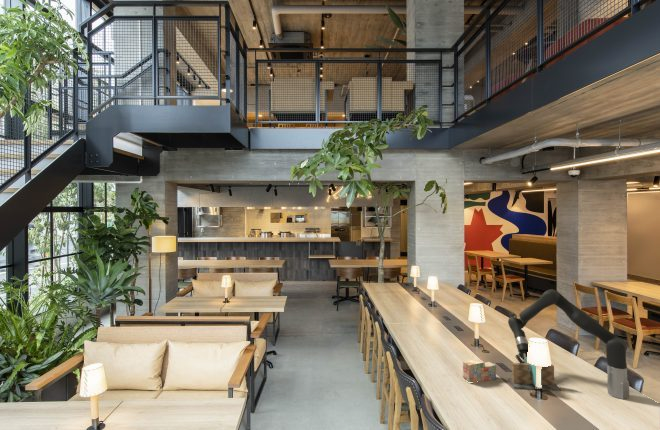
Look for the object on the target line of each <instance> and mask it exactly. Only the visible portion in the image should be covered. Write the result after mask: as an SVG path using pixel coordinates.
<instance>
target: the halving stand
mask: <svg viewBox="0 0 660 430" xmlns="http://www.w3.org/2000/svg"><path fill="white" fill-rule="evenodd" d="M511 368H512V369H511V372H512V373H511V375H512V376H511V377H512V378H506V379H507V382H508V383H509V384H510V385H511V387H512V388H513V390H514V389H515V390H517V389H518V390H534V389H535V385H534V384H533V383H532V373H530V365H529V364H528V363H520V362H511ZM541 391H554V392H555V391H557V392H560V391H561V388H560V387H559V386H558V385H557V384H556V383H555V365H553V364H551V366H548V367H542V390H541Z"/></svg>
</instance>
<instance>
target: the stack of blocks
mask: <svg viewBox="0 0 660 430" xmlns="http://www.w3.org/2000/svg"><path fill="white" fill-rule="evenodd" d="M462 375H463V376H462V378H464V379H465V380H467V381H468V382H477V381H482V382H486V381H485V380H487V381H492V380H496V379H497V365H496V364H495V363H492V362H491V361H487V362H486V361H483V360H481V359H479V358H476V359H471V360H464V361H462ZM468 382H467V383H468ZM477 383H478V382H477Z"/></svg>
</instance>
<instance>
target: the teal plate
mask: <svg viewBox="0 0 660 430" xmlns="http://www.w3.org/2000/svg"><path fill="white" fill-rule="evenodd" d="M525 358H526V362H527V357H525ZM528 364H529V363H528ZM529 365H530V373H532V383H533V384H534V385H536V366H534V365H531V364H529ZM541 385H542V369H541Z"/></svg>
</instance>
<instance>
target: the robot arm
mask: <svg viewBox="0 0 660 430" xmlns="http://www.w3.org/2000/svg"><path fill="white" fill-rule="evenodd" d="M552 305H554V306H556V307H558V308H559V309H560V310H561V311H563V312H564V313H565V315H566V316H567V317H568V318H569V320H570V321H571V322H572V323H573V324H574V325H576V326H577V327H579V329H582V331H584V332H586V333H588V334H590V335H592V336H595V337H596V338H598V339H599V340H601V341H602V342H603V343H604V344H605V357H606V363H607V364H606V366H607V367H606V368H607V370H606V372H607V373H606V374H607V376H606V378H607V379H606V380H607V394H608V395H609V396H611V397H613V398H618V399H621V400H626V399H628V398H630V381H629V380H628V364H627V355H626V352H627V350H628V345H627V343H626V342H625V340H624V339H622V338H621V337H619V336H617V334H614V333H613V332H611V331H610V330H608V329H606V328H605V327H604V326H602V325H601V324H600V323H599V322H597V321H596V319H594V318H593V317H591V316H590V315H589V314H588V313H586V312H585V311H583V310H582V309H580V308H579V307H577V306H576V305H574V304H573V303H572V302H570V301H569V300H568V299H567V298H566V297H565V296H564V295H562V294H561V292H559V291H557V290H555V289H548V290H545V291H544V292H543V293H542V295H540V297H539V298H538V299H537V300H536V301H535V302H533V303H531V305H529V306H528V307H526V308H524V310H522V311H521V312H520V313H519V314H518V315H519V316H518V317H519V318H518V317H515V316H510V317H509V318H508V326H509V328H510V330H511V332H512V333H513V336H514V340H515V344H516V347H517V352H518V354H516V355H515V358H516V360H517V361H518V363H527V362H526V358H525V357H527V352H528V344H529V340H528V339H527V336H526V333H525V331H524V330H523V328H525V326H526V325H527V324H528V322H529V321H531V320H532V319H533V318H535V317H536V316H537V315H538V314H539V313H540V312H541V311H543V310H544V309H546V308H548V307H550V306H552Z"/></svg>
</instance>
